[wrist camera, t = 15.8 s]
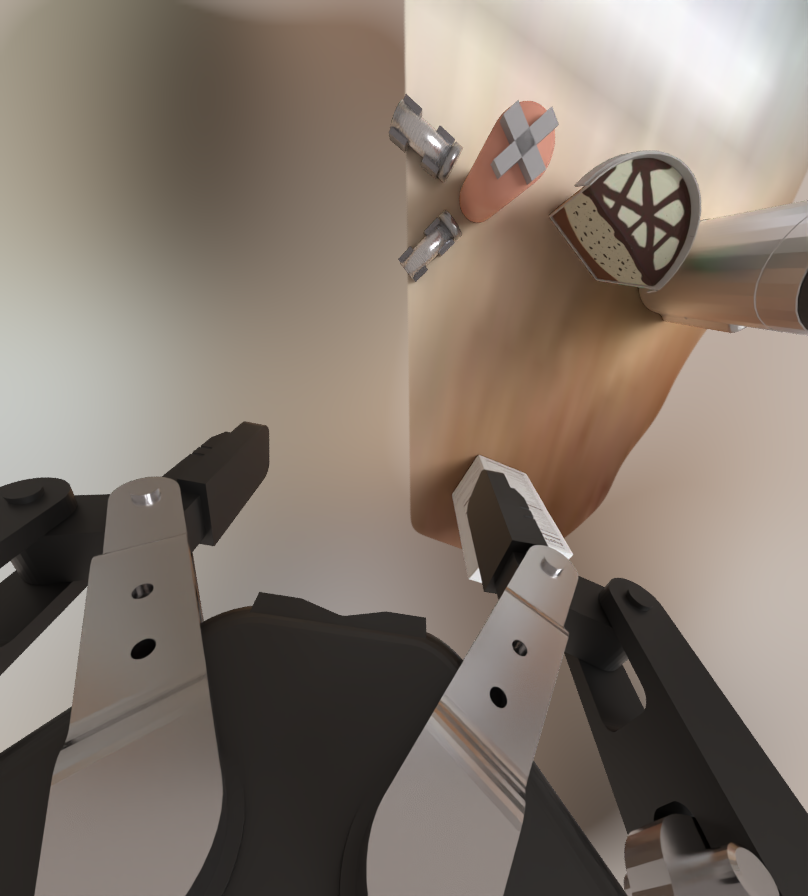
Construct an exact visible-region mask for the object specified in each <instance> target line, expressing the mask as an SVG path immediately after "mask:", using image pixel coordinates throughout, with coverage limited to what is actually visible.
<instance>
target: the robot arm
mask: <svg viewBox="0 0 808 896" xmlns="http://www.w3.org/2000/svg"><path fill="white" fill-rule="evenodd" d="M648 290H649V289H647V288H640V287H639V294H640V297H641V300H642V302H643V303H644V305H645V306H646V307H647V308H648V309H650V310H651V311H653V312H656V313H659V314H661V315H662V317H663V320H664V321H667V322H672V323H678V324H684V325H689V326H695V327H700V328H706V329H712V330H717V331H723V332H729V333H735V332H738V331H741V330H742V329H744V328H746V327H751V328H758V329H765V330H772V331H778V332H786V333H792V334H799V335H806V336H808V200H807V201H801V202H796V203H791V204H786V205H780V206H775V207H770V208H765V209H760V210H755V211H750V212H744V213H739V214H734V215H729V216H724V217H718V218H713V219H705V220H701V221H700V223H699V227H698V230H697V234H696V237H695V240H694V242H693V245H692V247H691V249H690V251H689V253H688V255H687V257H686V259H685V260H684V262H683V263H682V265H681V266H680V268H679V269H678V271H677V272H676V273H675V274H674V276H673V277H672V278H671V279H670V280H669V281H668V282H667V283H666V284H665V285H664V286H663V287H662V288H661V289H660V290H657V291H656V292H652V293H647V291H648ZM268 468H269V429H268V427H267V426H266V425H261V424H256V423H250V422H243V423H241V424H240V425H239V426H238V427H237V428H235V429H234V430H233V431H232V432H231V433H230V432H224V433H221V434H219V435H216V436H214V437H211V438H210V439H209V440H207V441H206V442H205V443H204V444H202V445H201V447H199V448H197V449H196V450H195V451H194V452H193V453H192V454H190V455H189V456H187V457H186V458H185V459H183V460H182V461H181V462H180V463H178V464H177V465H176V466H175V467H173V468H172V469H171V470H170V471H168V472H167V473H166V474H164V476H162V477H145V478H140V479H136V480H133V481H130V482H128V483H125V484H123V485H121V486H120V487H118V488H117V489H115V490H114V491H113V492H112V493H111V494H107V495H74V494H73V491H72V489H71V487H70V485H69V483H67V482H66V481H65V480H62V479H58V478H33V479H27V480H22V481H18V482H14V483H11V484H7V485H4V486H2V487H0V568H1V567H3V566H4V565H5V564H7V563H8V562H9V561H11V562H12V564H13V565H14V567H15V569H16V571H15V572H13V573H12V574H11V575H10V576H8V577H7V578H6V579H5V580H3V581H2V582H1V583H0V675H1V674H2V673H3V672H4V671H5V670H6V669H7V668H8V667H9V666H10V665H11V664H12V663H13V662H14V661H15V660H16V659H17V658H18V657H19V655H21V654H22V653H23V652H24V651H25V649H27V648H28V647H29V645H30V644H31V643H32V642H33V641H34V640H35V639H36V638H37V637H38V636H39V635H40V634H41V633H42V632H43V631H44V630H45V629H46V628H47V627H48V626H49V625H50V624H51V623H52V622H53V621H54V620H55V619H56V618H57V617H58V616H59V615H60V614H61V613H62V612H63V611H64V610H65V608H66V607H67V606H68V605H69V604H70V603H71V602H72V601H73V600H74V599H75V598H76V597H77V596H78V595H79V594H80V593H81V592H82V591H83V590H84V589H85V588H86V587H87V586H88V587H87V596H86V603H85V610H84V618H83V626H82V634H81V641H80V649H79V656H78V664H77V672H76V679H75V688H74V695H73V702H72V707H70V708H69V709H67V710H66V711H64V712H63V713H61V714H60V715H58V716H57V717H55V718H53V719H52V720H50V721H49V722H47V723H46V724H44V725H43V726H41V727H40V728H38V729H36V730H35V731H34V732H32V733H30V734H29V735H27V736H26V737H24V738H23V739H21V740H20V741H18V742H17V743H15V744H13V745H12V746H11V747H9V748H7V749H6V750H4V751H3V752H1V753H0V896H808V813H807V812H806V811H805V809H804V808H803V806H802V805H801V804H800V802H799V801H798V799H797V798H796V796H795V795H794V794H793V792H792V791H791V789H790V788H789V786H788V785H787V784H786V782H785V781H784V779H783V778H782V777H781V775H780V774H779V772H778V771H777V769H776V768H775V766H774V765H773V764H772V762H771V761H770V759H769V758H768V757H767V755H766V754H765V752H764V751H763V749H762V748H761V747H760V745H759V744H758V742H757V741H756V739H755V738H754V737H753V735H752V734H751V732H750V731H749V729H748V728H747V727H746V725H745V724H744V723H743V721H742V719H741V718H740V717H739V715H738V714H737V712H736V711H735V710H734V708H733V707H732V705H731V704H730V702H729V701H728V699H727V698H726V697H725V695H724V694H723V692H722V691H721V690H720V688H719V687H718V686H717V684H716V683H715V681H714V680H713V678H712V677H711V675H710V674H709V672H708V671H707V670H706V668H705V667H704V665H703V664H702V663H701V661H700V660H699V658H698V657H697V655H696V654H695V652H694V651H693V650H692V648H691V647H690V645H689V644H688V643H687V641H686V640H685V638H684V637H683V635H682V634H681V632H680V631H679V630H678V628H677V627H676V625H675V624H674V623H673V621H672V620H671V618H670V617H669V615H668V614H667V613H666V611H665V610H664V608H663V607H662V606H661V604H660V603H659V602H658V601H657V600H656V598H655V597H653V596H652V595H651V594H650V593H649V592H648V591H646V590H645V589H643V588H642V587H641V586H639V585H638V584H636V583H634V582H631V581H629V580H627V579H623V578H614V579H612V580H611V581H610V582H609V583H608V584H607V585H606V586H605V587H603V586H601V585H598V584H596V583H594V582H591V581H589V580H587V579H584V578H582V577H580V576H578V573H577V571H576V569H575V567H574V565H573V564H572V563H571V562H570V560H568V559H567V558H566V557H565V556H564V555H563V554H561V553H560V552H558V551H557V550H555V549H553V548H550V547H548V545H547V543H546V541H545V539H544V537H543V535H542V533H541V531H540V529H539V527H538V525H537V523H536V520H535V519H533V517H534V516H533V514H532V512H531V510H529V506H528V504H527V502H526V500H525V498H524V497H523V496H522V495H521V494H520V493H519V492H518V491H517V490H516V489H515V488H511V487H510V485H509V483H508V481H507V479H506V477H505V475H504V473H500V472H495V471H490V470H485V469H484V470H482V471H481V473H480V475H479V477H478V480H477V482H476V485H475V487H474V489H473V492H472V494H471V497H470V499H469V502H468V507H467V518H468V522H469V527H470V531H471V535H472V540H473V544H474V549H475V553H476V558H477V562H478V567H479V571H480V576H481V580H482V585H483V589H484V592H489V593H495V594H497V595H498V599H499V600H498V602H497V604H496V605H495V607H494V609H493V610H492V612H491V614H490V616H489V617H488V619H487V621H486V622H485V624H484V626H483V627H482V629H481V631H480V632H479V634H478V636H477V637H476V639H475V641H474V643H473V644H472V646H471V648H470V650H469V651H468V653H467V654H466V656H465V658H464V660H462V659H461V658H460V657H459V655H458V654H457V653H456V652H455V651H454V650H453V649H451V648H450V647H449V646H448V645H447V644H445V643H444V642H443V641H441V640H440V639H438V638H437V637H435V636H433V635H432V634H429V633H427V632H426V618H424V617H417V616H411V615H405V614H398V613H392V612H379V613H369V614H359V615H350V616H341V615H338V614H336V613H333V612H331V611H329V610H326V609H324V608H322V607H320V606H317V605H315V604H313V603H311V602H308V601H306V600H304V599H301V598H295V597H288V596H282V595H275V594H268V593H262V592H259V594H258V596H257V598H256V600H255V602H254V604H253V606H247V607H242V608H238V609H233V610H230V611H227V612H224V613H221V614H219V615H216V616H214V617H211V618H210V619H207V620H206V621H204V619H203V613H202V608H201V601H200V595H199V589H198V583H197V577H196V571H195V564H194V558H193V553H192V552H193V551H194V549H195V548H196V547H197V546H198V544H204V545H211V546H215V545H216V543H217V542H218V541H219V539H220V538H221V536H222V535H223V534H224V532H225V531H226V530H227V528H228V527H229V526H230V524H231V523H232V522H233V520H234V519H235V517H236V516H237V515H238V514H239V512H240V511H241V509H242V508H243V507H244V505H245V504H246V503H247V501H248V500H249V499H250V497H251V496H252V495H253V493H254V492H255V491H256V489H257V488H258V486H259V485H260V484H261V482H262V481H263V480H264V478H265V476H266V474H267V472H268ZM563 654H565V656H566V659H567V662H568V665H569V668H570V671H571V674H572V676H573V679H574V682H575V685H576V688H577V691H578V694H579V696H580V699H581V702H582V705H583V708H584V711H585V714H586V716H587V719H588V722H589V725H590V728H591V731H592V733H593V736H594V739H595V742H596V744H597V748H598V751H599V753H600V756H601V759H602V762H603V765H604V768H605V770H606V773H607V776H608V779H609V782H610V785H611V787H612V790H613V793H614V796H615V799H616V802H617V805H618V807H619V810H620V814H621V816H622V819H623V822H624V825H625V828H626V831H627V834H628V836H627V839H626V842H625V848H624V858H625V866H626V871H627V873H626V875H625V877H624V890H625V891H624V890H623V888H622V887H621V885H620V884H619V883H618V881H617V879H616V878H615V877H614V875H613V874H612V872H611V871H610V869H609V868H608V867H607V865H606V864H605V863H604V861H603V859H602V858H601V857H600V855H599V854H598V852H597V851H596V849H595V848H594V847H593V845H592V844H591V842H590V841H589V840H588V838H587V837H586V835H585V834H584V832H583V831H582V829H581V828H580V826H579V825H578V824H577V822H576V821H575V819H574V818H573V816H572V815H571V814H570V812H569V811H568V809H567V808H566V807H565V805H564V804H563V802H562V801H561V799H560V798H559V796H558V795H557V794H556V792H555V791H554V789H553V788H552V786H551V785H550V784H549V782H548V781H547V779H546V778H545V776H544V775H543V774H542V772H541V771H540V769H539V768H538V766H537V765H536V763H535V762H534V761H533V759H534V755H535V752H536V748H537V745H538V741H539V738H540V734H541V731H542V727H543V724H544V720H545V717H546V713H547V710H548V706H549V703H550V700H551V696H552V693H553V689H554V686H555V682H556V679H557V675H558V671H559V668H560V665H561V661H562V658H563ZM628 659H629V661H630V662H631V665H632V667H633V668H634V671H635V672H636V674H637V676H638V678H639V680H640V682H641V684H642V686H643V688H644V691H645V695H646V708H645V710H644V708H643V706H642V704H641V702H640V700H639V697H638V696H637V693H636V691H635V689H634V687H633V685H632V683H631V681H630V679H629V677H628V675H627V673H626V671H625V669H624V667H623V665H622V664H623V663H624V662H625V661H627V660H628Z"/></svg>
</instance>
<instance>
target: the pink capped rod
mask: <svg viewBox="0 0 808 896" xmlns="http://www.w3.org/2000/svg"><path fill="white" fill-rule="evenodd" d="M558 125H559V124H558V121H557V118H556V116H555V113H554V110H553V108H552V107H551V108H550V109H548V110H546V109H545V108H544V107H543V106H541V105H540V104H538V103H536V102H533V101H522V102H519V101H517V102H516V103H514V104H513V105H512V106H511V107H509V108H508V109H507V110H506V111H505V112H504V113H503V114H502V115H501V116H500V117H499V119H498V120H497V122H496V124H495V125H494V127H493V129H492V131H491V133H490V135H489V136H488V138H487V140H486V142H485V144H484V146H483V148H482V150H481V151H480V153H479V155H478V157H477V159H476V161H475V163H474V165H473V166H472V168H471V170H470V172H469V174H468V176H467V178H466V180H465V181H464V183H463V185H462V188H461V191H460V198H459V201H460V207H461V210H462V213H463V214H464V216H465V217H466V218H467V219H469V220H470V221H472V222H483V221H486V220H487V219H489V218H490V217H491V216H493V215H494V214H495V213H497V212H498V211H499V210H500V209H502V208H503V207H504V206H505V205H507V204H508V203H509V202H511V201H512V200H513V199H514V198H516V197H517V196H518V195H520V194H521V193H522V192H523V191H525V190H526V189H527V188H529V187H530V186H531V185H532V184H534V183H535V182H536V181H537V180H538V179H539V178H540V177H541V176H542V175H543V173H544V172H545V170H546V168H547V167H548V165H549V162H550V160H551V157H552V154H553V150H554V144H555V130H554V129H555V128H556V127H557V126H558Z"/></svg>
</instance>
